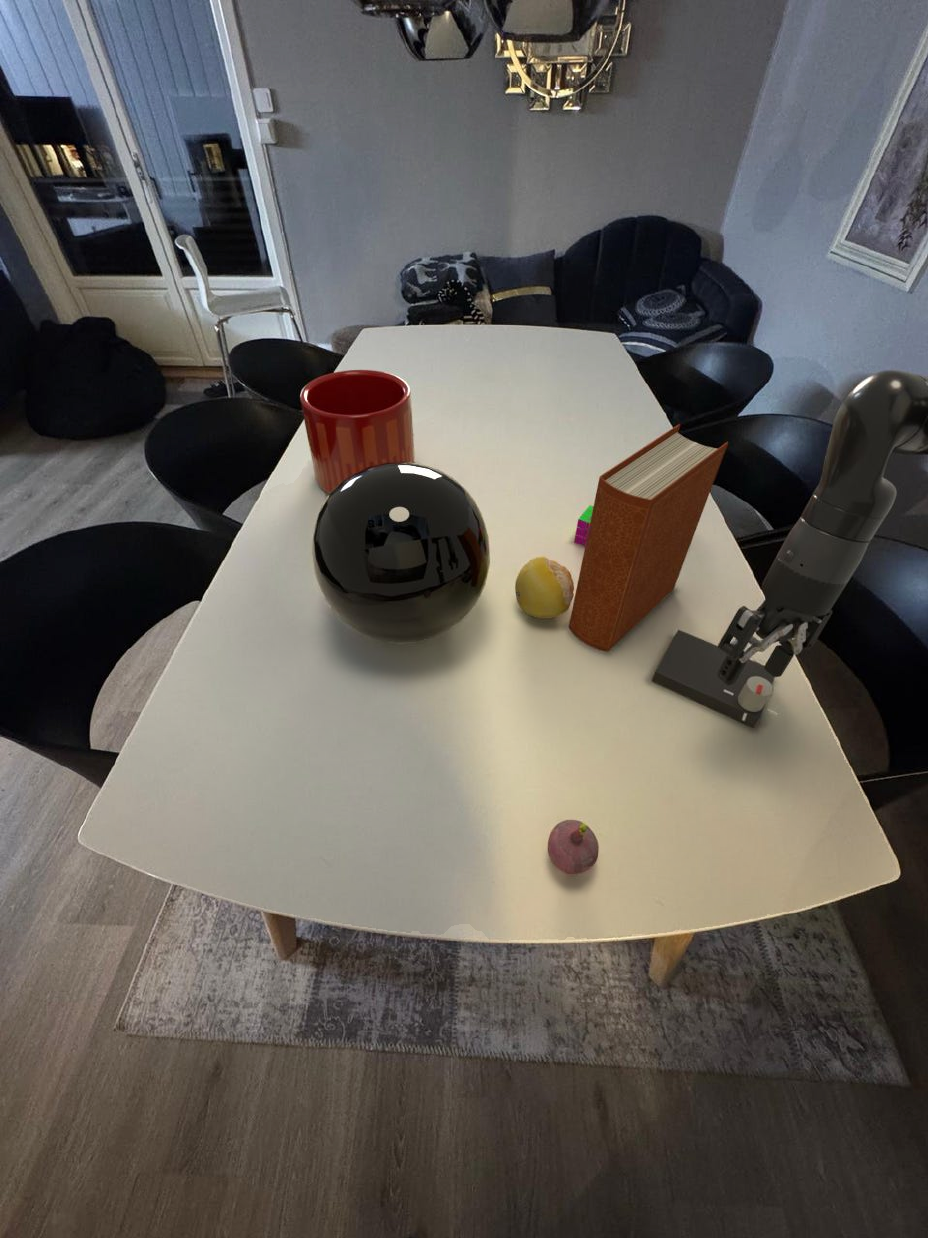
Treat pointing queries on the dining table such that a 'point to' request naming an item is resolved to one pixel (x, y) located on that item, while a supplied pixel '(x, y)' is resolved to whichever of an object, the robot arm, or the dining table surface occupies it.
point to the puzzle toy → (583, 526)
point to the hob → (706, 677)
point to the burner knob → (755, 694)
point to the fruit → (544, 588)
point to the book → (640, 535)
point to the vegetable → (573, 847)
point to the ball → (400, 552)
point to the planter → (356, 423)
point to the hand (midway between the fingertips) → (748, 676)
